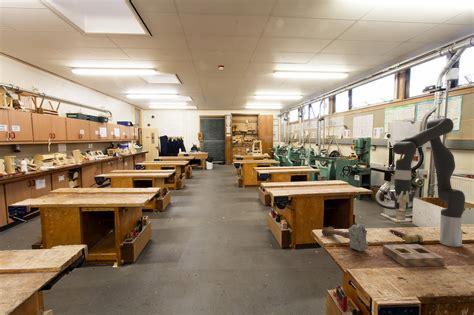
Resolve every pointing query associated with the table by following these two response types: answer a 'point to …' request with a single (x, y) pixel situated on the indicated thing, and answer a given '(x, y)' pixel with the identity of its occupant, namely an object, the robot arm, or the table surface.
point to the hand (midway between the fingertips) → (401, 208)
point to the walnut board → (413, 255)
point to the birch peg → (401, 208)
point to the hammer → (351, 236)
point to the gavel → (409, 237)
